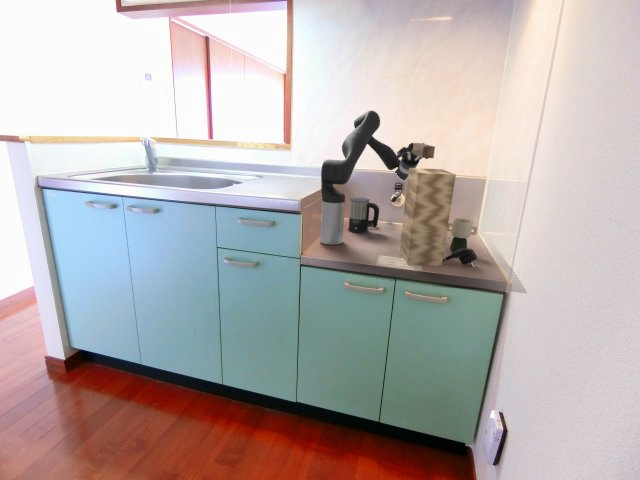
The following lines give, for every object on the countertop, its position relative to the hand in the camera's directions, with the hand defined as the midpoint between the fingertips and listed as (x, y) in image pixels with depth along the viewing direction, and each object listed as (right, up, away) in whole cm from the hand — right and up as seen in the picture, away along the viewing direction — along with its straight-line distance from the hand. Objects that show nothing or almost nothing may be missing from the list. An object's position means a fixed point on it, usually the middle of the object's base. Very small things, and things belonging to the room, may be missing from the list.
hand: (418, 145), depth 140 cm
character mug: (+15, -43, -3) cm, 46 cm away
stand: (-3, -45, -11) cm, 46 cm away
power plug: (+9, -47, -16) cm, 51 cm away
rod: (-1, -5, -6) cm, 8 cm away
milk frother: (-20, -33, +25) cm, 46 cm away
